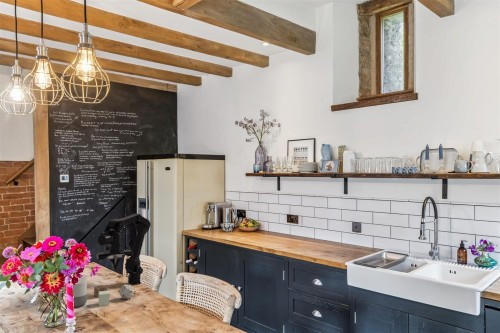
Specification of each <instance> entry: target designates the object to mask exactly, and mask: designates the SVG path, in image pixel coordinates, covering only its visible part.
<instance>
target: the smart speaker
mask: <svg viewBox="0 0 500 333" xmlns="http://www.w3.org/2000/svg"><path fill="white" fill-rule="evenodd" d="M81 276H82V278H79V281H78V283H76V284H75V285H73V296H74V307H73V308H80V307H83V306H85V305H86V303H87V301H88V286H87V277H86V276H84V275H81Z"/></svg>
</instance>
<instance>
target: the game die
mask: <svg viewBox="0 0 500 333" xmlns="http://www.w3.org/2000/svg"><path fill="white" fill-rule="evenodd" d="M118 292H119V295H120V300H122V299H128V300H129V301H131V298H132V296H133V294H135V290H134V288H133V285H132V284H131V285H130V284H125V283H122V286H121V288H119V290H118Z"/></svg>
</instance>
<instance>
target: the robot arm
mask: <svg viewBox="0 0 500 333" xmlns="http://www.w3.org/2000/svg"><path fill="white" fill-rule="evenodd" d="M132 223H133V224H134V225H135V230H136V236H135V238H134V239H135V240H134V242H133V247H132V250H131V249H124V250H123V251H121V234H123V233H124V231H122V229H124V228H125V226H128V225H130V224H132ZM150 227H151V221H150V220H149V218H146V217H145V216H143V215H142V214H140V213H132V214H131V215H128V216H125V217H122V218H120V219H119V218H118V219H117V218H115V219H110V220H109V221H108V222H107V225H106V227H105V229H104V231H103V232H101V233H100V235H98V237H97V243H98V245H100V246H103V247H104V250H103V251H104V252H102V251H101V252H97V253H96V259H97V261H98V260H99V261H101V260H102V261H103V260H105V259H106V258H107V259H108V261H110V262H111V266H112V268H113V270H114V271H115V270H116V269H117V267H118V265H119V263H120V262H121V260H122V259H123V256H126V257H127V258H126V260H125V263H124V269H125V272H126V274H128V276H127V283H128V285H131V284H132V286H134V285H135V286H136V285H140V284H142V282H141V275H142V274H143V273H144V268H143V267H142V266H141V260H140V256H141V252H142V247H143V244H144V241H145V235H146V234H147V233H148V232H149V231H150ZM105 252H107V253H105Z"/></svg>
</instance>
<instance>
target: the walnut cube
mask: <svg viewBox="0 0 500 333" xmlns="http://www.w3.org/2000/svg"><path fill="white" fill-rule="evenodd" d="M100 291H108V286H106V285H104V284H100V285H96V286H94V287H93V297H96V298H97V299H99V292H100Z"/></svg>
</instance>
